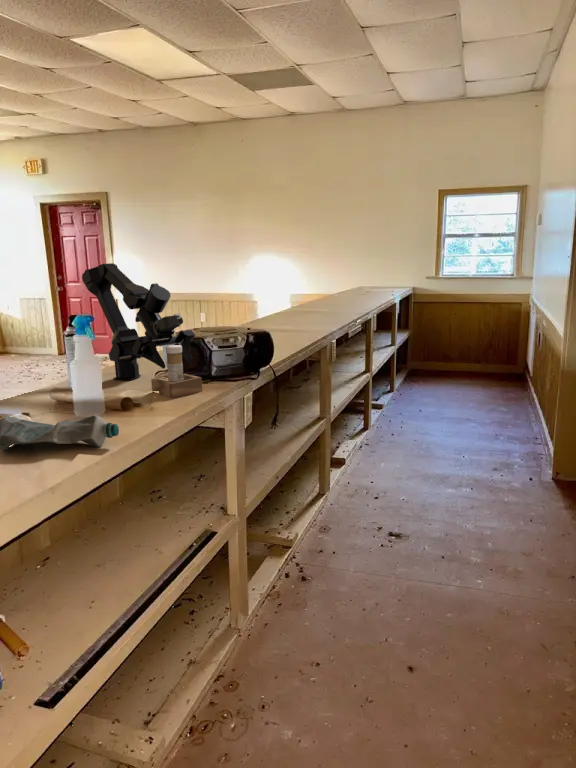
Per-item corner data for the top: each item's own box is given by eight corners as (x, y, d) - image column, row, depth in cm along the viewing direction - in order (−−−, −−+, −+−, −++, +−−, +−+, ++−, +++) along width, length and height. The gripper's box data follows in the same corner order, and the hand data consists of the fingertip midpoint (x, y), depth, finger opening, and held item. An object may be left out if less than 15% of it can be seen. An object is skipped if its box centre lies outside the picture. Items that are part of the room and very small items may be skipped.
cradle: (152, 392, 161) (151, 378, 160) (181, 385, 168) (180, 372, 167) (172, 398, 154) (171, 384, 153) (202, 390, 161) (201, 377, 161)
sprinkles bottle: (179, 388, 165) (177, 343, 161) (187, 391, 161) (184, 345, 158) (165, 391, 162) (162, 345, 159) (172, 394, 158) (170, 347, 155)
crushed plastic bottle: (-16, 457, 111) (105, 456, 110) (-20, 423, 110) (102, 420, 108) (20, 441, 124) (128, 439, 123) (17, 410, 123) (126, 407, 121)
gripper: (134, 308, 151) (160, 352, 147) (189, 302, 165) (215, 343, 160) (121, 334, 159) (146, 377, 154) (175, 326, 172) (199, 366, 167)
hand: (178, 365), depth 158 cm, fingers open, 9 cm apart
